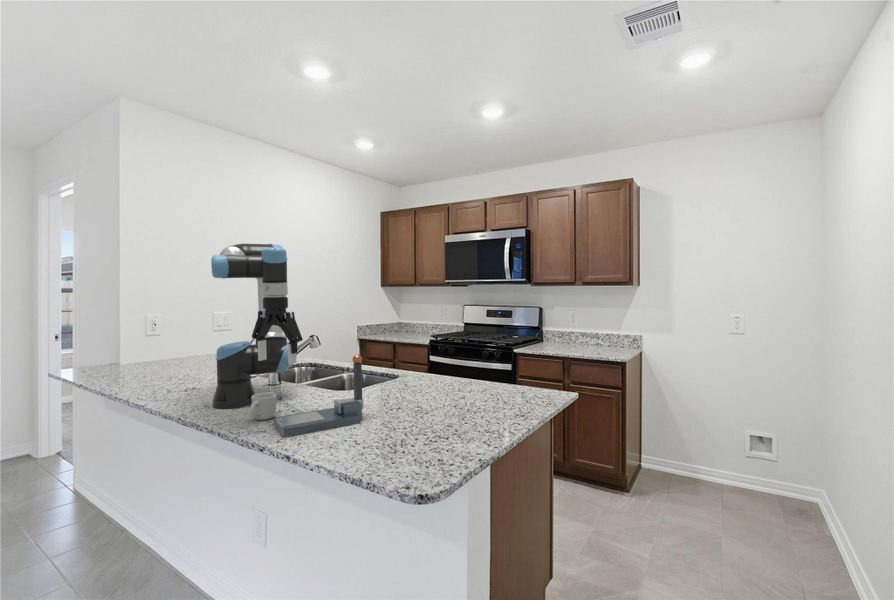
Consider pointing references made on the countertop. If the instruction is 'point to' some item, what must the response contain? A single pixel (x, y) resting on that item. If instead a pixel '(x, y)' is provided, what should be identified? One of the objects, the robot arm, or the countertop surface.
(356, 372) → the lever
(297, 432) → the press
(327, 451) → the countertop surface
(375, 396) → the countertop surface
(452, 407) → the countertop surface
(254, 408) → the cup
